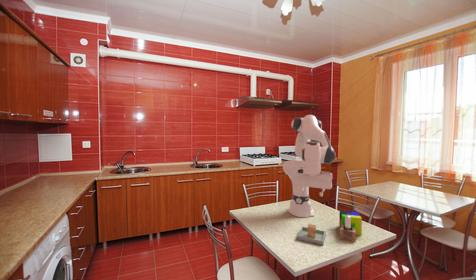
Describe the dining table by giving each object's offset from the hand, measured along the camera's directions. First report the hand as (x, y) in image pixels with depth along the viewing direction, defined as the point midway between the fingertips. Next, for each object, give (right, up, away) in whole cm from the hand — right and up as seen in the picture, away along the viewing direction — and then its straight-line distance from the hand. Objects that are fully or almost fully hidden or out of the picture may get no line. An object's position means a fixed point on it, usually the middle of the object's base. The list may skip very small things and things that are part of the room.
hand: (312, 194), depth 117 cm
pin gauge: (+20, -24, +1) cm, 32 cm away
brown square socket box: (+21, -24, +1) cm, 32 cm away
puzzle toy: (+26, -24, +9) cm, 37 cm away
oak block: (0, -24, 0) cm, 24 cm away
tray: (0, -24, +1) cm, 24 cm away
